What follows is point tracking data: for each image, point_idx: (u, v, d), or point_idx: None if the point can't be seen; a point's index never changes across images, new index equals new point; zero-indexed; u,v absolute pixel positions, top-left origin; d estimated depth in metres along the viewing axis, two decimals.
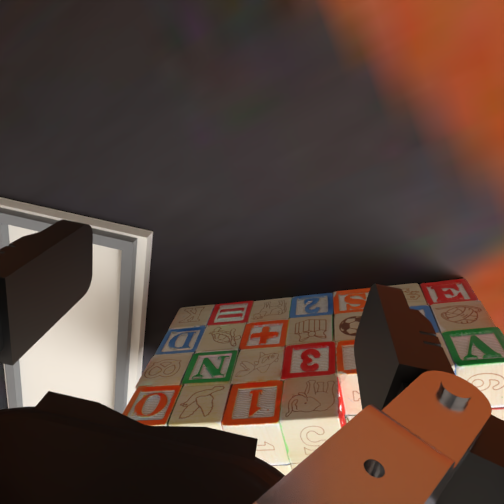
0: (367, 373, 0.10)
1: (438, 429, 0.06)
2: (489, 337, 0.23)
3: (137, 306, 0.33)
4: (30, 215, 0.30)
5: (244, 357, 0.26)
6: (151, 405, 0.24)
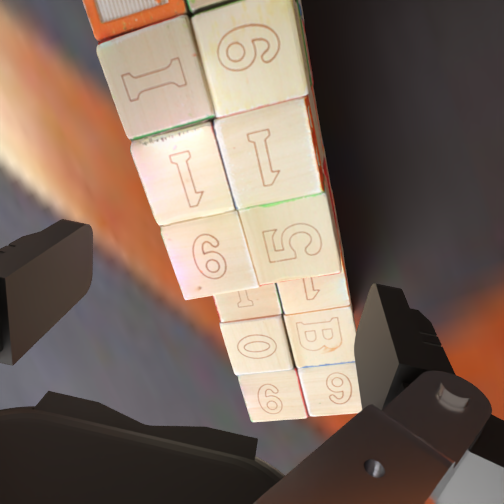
0: (367, 373, 0.10)
1: (438, 428, 0.06)
2: None
3: None
4: None
5: (313, 100, 0.18)
6: None
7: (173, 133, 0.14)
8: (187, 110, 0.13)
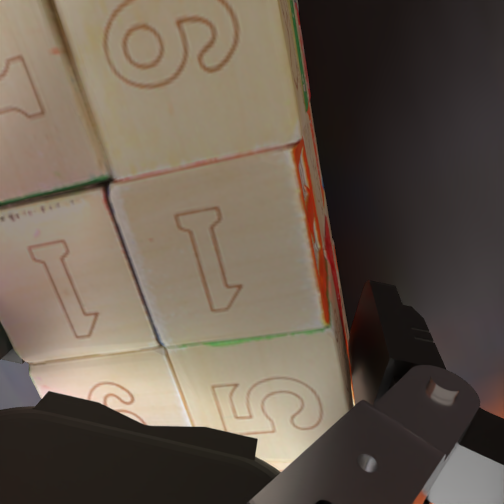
0: (360, 369, 0.10)
1: (429, 422, 0.07)
2: None
3: None
4: None
5: (309, 129, 0.11)
6: None
7: (31, 206, 0.07)
8: (52, 165, 0.06)
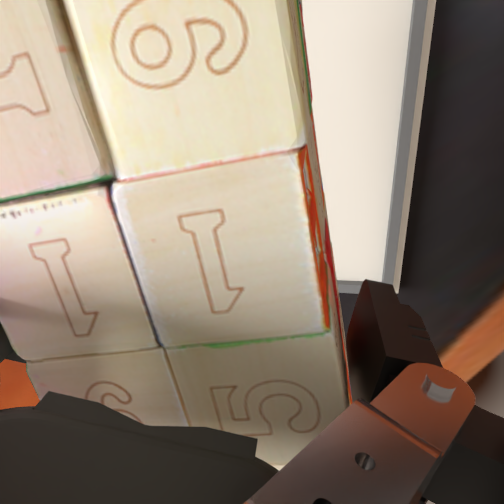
0: (357, 367, 0.10)
1: (425, 420, 0.07)
2: None
3: None
4: None
5: (312, 132, 0.11)
6: None
7: (33, 203, 0.07)
8: (56, 163, 0.06)
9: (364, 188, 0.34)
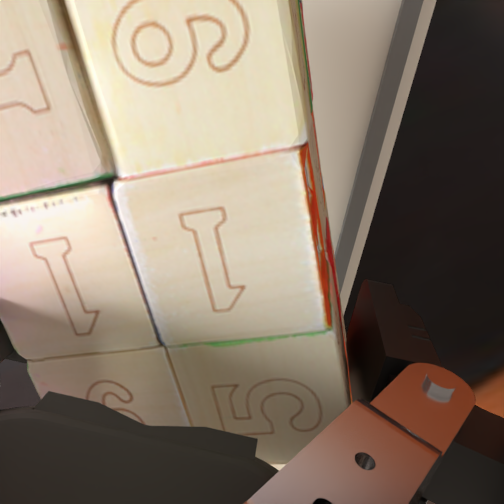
0: (357, 367, 0.10)
1: (425, 420, 0.07)
2: None
3: None
4: None
5: (313, 131, 0.11)
6: None
7: (34, 201, 0.07)
8: (56, 161, 0.06)
9: None
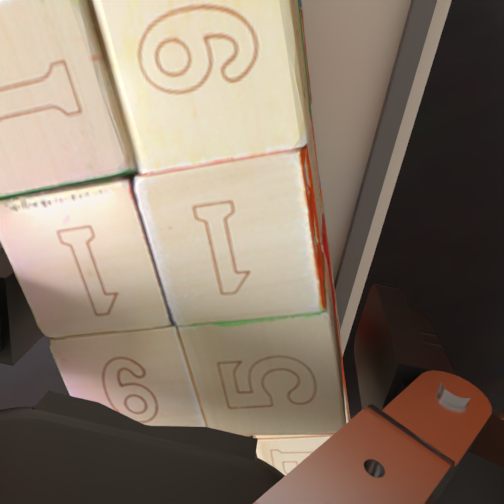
0: (367, 373, 0.10)
1: (438, 429, 0.06)
2: None
3: None
4: None
5: (311, 133, 0.12)
6: None
7: (62, 193, 0.08)
8: (85, 158, 0.07)
9: None
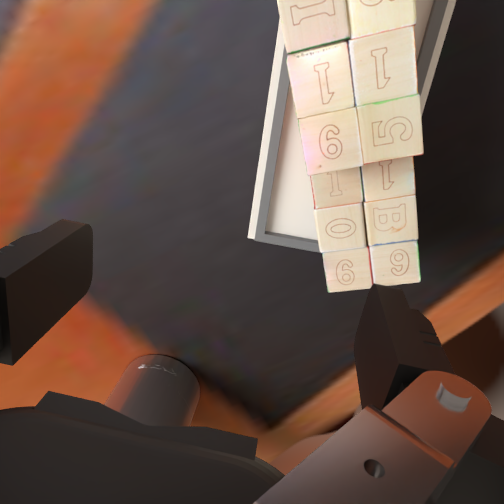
0: (367, 373, 0.10)
1: (437, 428, 0.06)
2: None
3: (261, 175, 0.37)
4: None
5: None
6: None
7: (319, 49, 0.20)
8: (333, 32, 0.20)
9: None
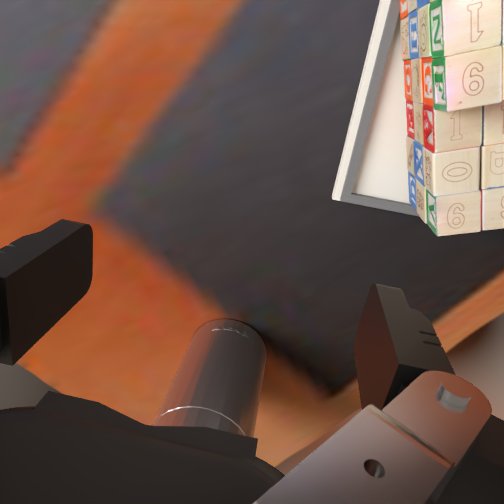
0: (367, 373, 0.10)
1: (438, 428, 0.06)
2: None
3: (351, 137, 0.39)
4: None
5: None
6: None
7: None
8: None
9: None
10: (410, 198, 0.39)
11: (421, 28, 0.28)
